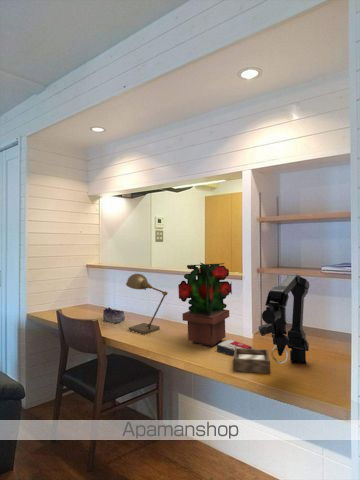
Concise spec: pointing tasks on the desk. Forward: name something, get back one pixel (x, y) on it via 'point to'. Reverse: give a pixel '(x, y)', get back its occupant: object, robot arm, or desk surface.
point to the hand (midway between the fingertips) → (279, 354)
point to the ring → (277, 360)
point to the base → (251, 360)
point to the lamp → (141, 283)
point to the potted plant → (206, 303)
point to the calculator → (231, 347)
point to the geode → (113, 315)
